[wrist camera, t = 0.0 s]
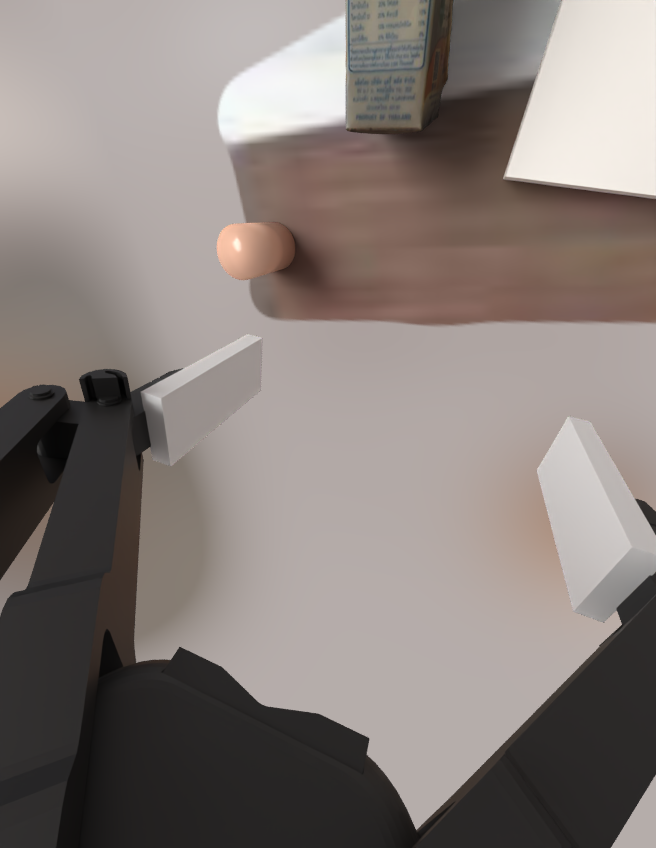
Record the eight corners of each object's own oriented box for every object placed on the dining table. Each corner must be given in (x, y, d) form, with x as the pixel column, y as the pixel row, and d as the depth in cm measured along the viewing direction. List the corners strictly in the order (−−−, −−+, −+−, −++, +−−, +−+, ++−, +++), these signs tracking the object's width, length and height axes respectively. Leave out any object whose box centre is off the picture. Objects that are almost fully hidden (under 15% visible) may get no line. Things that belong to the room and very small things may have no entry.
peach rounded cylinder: (256, 218, 41) (215, 219, 34) (296, 225, 40) (262, 228, 33) (255, 265, 43) (217, 275, 37) (293, 273, 42) (261, 284, 36)
